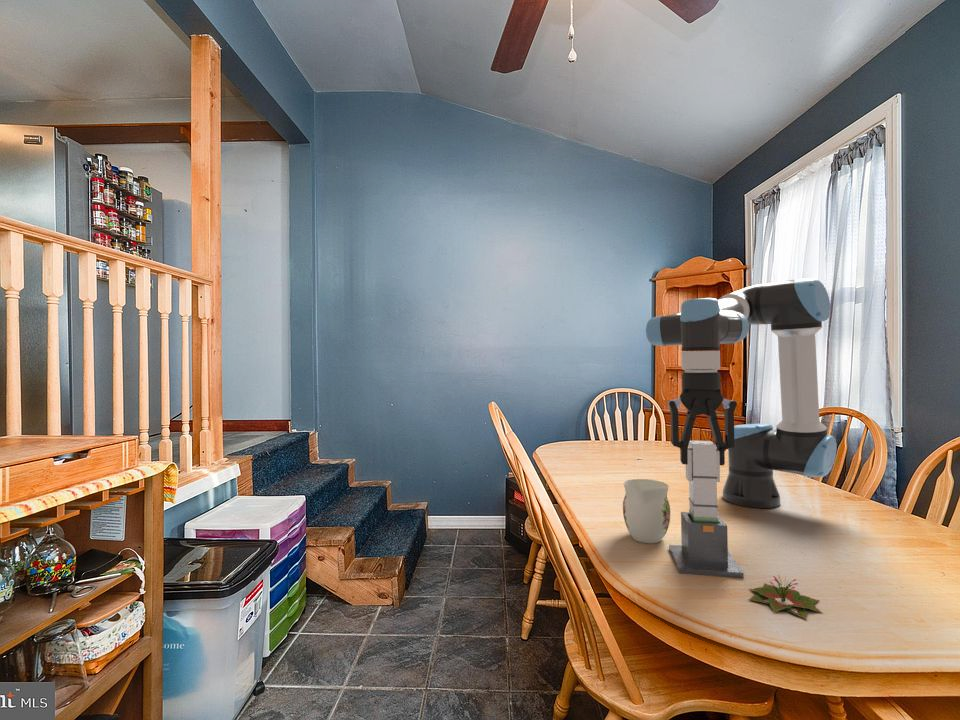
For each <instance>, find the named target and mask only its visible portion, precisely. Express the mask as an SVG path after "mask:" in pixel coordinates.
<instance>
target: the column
mask: <svg viewBox="0 0 960 720" xmlns="http://www.w3.org/2000/svg"><path fill="white" fill-rule="evenodd" d="M688 448H689V449H691V450H692V481H688V490H689V491H688V493H689V494H688V495H689V496H688V502H689V509H688V512H689V516H690V520H691V521H692V522H698V523H716V524H718V518H717V514H718V507H719V506H718V486H717V485H718V482H717V465H716V449H717V447H716V444H715V442H713V441H711V440H691V439H690V441H689V445H688Z"/></svg>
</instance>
